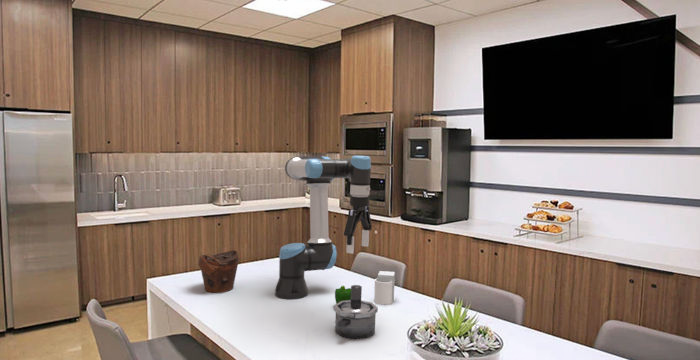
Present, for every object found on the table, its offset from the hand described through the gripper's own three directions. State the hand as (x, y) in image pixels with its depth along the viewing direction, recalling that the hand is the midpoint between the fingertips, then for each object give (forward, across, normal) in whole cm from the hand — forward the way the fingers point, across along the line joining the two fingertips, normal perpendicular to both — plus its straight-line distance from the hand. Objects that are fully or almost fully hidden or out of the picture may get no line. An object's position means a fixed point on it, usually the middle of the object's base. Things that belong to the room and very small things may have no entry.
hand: (357, 249), depth 186 cm
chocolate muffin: (+31, +6, +75) cm, 82 cm away
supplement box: (+30, +31, 0) cm, 43 cm away
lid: (+21, -8, -4) cm, 23 cm away
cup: (+30, +31, 0) cm, 43 cm away
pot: (+29, -8, -4) cm, 31 cm away
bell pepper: (+30, +13, +12) cm, 35 cm away
